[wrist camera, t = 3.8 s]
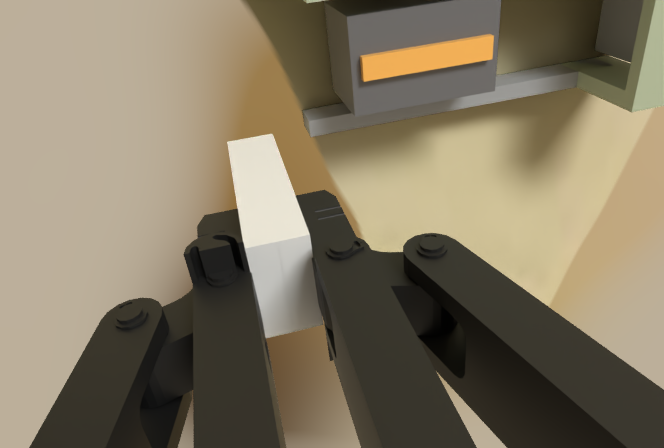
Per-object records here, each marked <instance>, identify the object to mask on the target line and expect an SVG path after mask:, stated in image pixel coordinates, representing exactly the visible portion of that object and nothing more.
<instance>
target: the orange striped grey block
mask: <svg viewBox="0 0 664 448" xmlns="http://www.w3.org/2000/svg"><path fill="white" fill-rule="evenodd" d="M324 6H325V16H326V26H327V36H328V46H329V55H330V65H331V75H332V85H333V90H334V92H335V93H336V94H337V95H338V97H339V98H340V99H341V100H342V101H343V103H344V104H345V105H346V106H347V108H348V109H349V110H350V111H351V112H352V114H353V115H354V116H355V117H357V116H362V115H368V114H373V113H379V112H384V111H389V110H395V109H400V108H406V107H411V106H417V105H422V104H427V103H433V102H438V101H444V100H449V99H454V98H460V97H465V96H471V95H476V94H482V93H487V92H492V91H495V85H496V70H497V55H498V40H499V26H500V11H501V0H333V1H326V2H324Z"/></svg>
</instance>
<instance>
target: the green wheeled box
mask: <svg viewBox="0 0 664 448" xmlns="http://www.w3.org/2000/svg"><path fill="white" fill-rule="evenodd" d="M303 1H304V2H306V3H312V2H319V1H325V0H303ZM595 51H598V52H601V53H604V54H607V55H610V56H613V57H616V58H619V59H622V60H625V61H628V62H631V64H630V63H627V62H624V61H621V60H619V59H616V58H613V57H610V56H601V57H596V58H590V59H584V60H579V61H573V62H568V63H562V64H557V65H551V66H546V67H540V68H534V69H529V70H523V71H518V72H512V73H507V74H501V75H496V85H495V91H492V92H487V93H482V94H476V95H471V96H465V97H460V98H454V99H449V100H444V101H438V102H433V103H427V104H422V105H417V106H411V107H406V108H400V109H395V110H389V111H384V112H379V113H373V114H368V115H362V116H357V117H355V116H354V115H353V114H352V112H351V111H350V110H349V109H348V108H347V106H346V105H345V104H344V103H340V104H334V105H329V106H323V107H318V108H312V109H307V110H302V111H303V118H304V125H305V127H306V129H307V131H308V133H309V135H310V137H314V136H319V135H325V134H330V133H335V132H341V131H346V130H351V129H357V128H362V127H367V126H373V125H378V124H383V123H388V122H394V121H399V120H404V119H410V118H415V117H420V116H426V115H431V114H436V113H442V112H447V111H452V110H458V109H463V108H468V107H474V106H479V105H484V104H490V103H495V102H500V101H506V100H511V99H516V98H521V97H527V96H532V95H537V94H543V93H548V92H553V91H559V90H564V89H569V88H575V87H577V88H579V89H581V90H584V91H586V92H588V93H590V94H592V95H595V96H597V97H599V98H601V99H603V100H606V101H608V102H610V103H612V104H615V105H617V106H619V107H621V108H623V109H626V110H628V111H630V112H636V111H641V110H646V109H651V108H656V107H661V106H664V0H603V3H602V9H601V15H600V21H599V28H598V34H597V40H596V46H595Z"/></svg>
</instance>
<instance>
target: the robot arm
mask: <svg viewBox="0 0 664 448" xmlns="http://www.w3.org/2000/svg"><path fill="white" fill-rule="evenodd" d="M227 143H228V149H229V155H230V162H231V169H232V175H233V181H234V188H235V194H236V200H237V207H238V209H234V210H229V211H224V212H219V213H214V214H209V215H205V216H204V217H203V219H202V220H201V221H200V223H199V224H198V227H197V231H198V239H196V240H194V241H193V242H192V243H191V244H190V245H189V246H187V247H186V249H185V252H184V257H185V260H186V264H187V267H188V270H189V273H190V277H191V280H192V283H193V289H192V290H191V291H190V292H189V293H188V294H187V295H185V296H184V297H182V298H181V299H178V300H177V301H175V302H173V303H170V304H168V305H166V306H164V307H162V306H161V305H160V303H159V302H158V301H156V300H154V299H151V298H138V299H133V300H129V301H126V302H123V303H122V304H119V305H117V306H116V307H114V308H113V309H111V310H110V311H109V312H107V314H106V315H105V316H104V317H103V319H102V320H101V321H100V323H99V325H98V327H97V328H96V330H95V332H94V334H93V336H92V337H91V339H90V341H89V343H88V344H87V346H86V348H85V350H84V352H83V353H82V355H81V357H80V359H79V360H78V362H77V364H76V366H75V368H74V369H73V371H72V373H71V375H70V376H69V379H68V380H67V382H66V383H65V385H64V387H63V389H62V391H61V392H60V394H59V396H58V398H57V400H56V401H55V403H54V405H53V407H52V408H51V410H50V412H49V414H48V415H47V418H46V419H45V421H44V423H43V424H42V426H41V428H40V430H39V431H38V433H37V435H36V437H35V439H34V441H33V442H32V444H31V446H30V447H29V448H177V447H178V444H179V441H180V437H181V434H182V430H183V427H184V424H185V420H186V417H187V413H188V410H189V407H190V403H191V399H192V390H194V391H193V393H194V394H193V397H194V398H193V399H194V448H286V444H285V438H284V433H283V427H282V422H281V416H280V410H279V405H278V400H277V394H276V388H275V383H274V377H273V372H272V366H271V361H270V355H269V350H268V346H267V342H266V338H269V337H273V336H277V335H281V334H286V333H290V332H294V331H299V330H303V329H307V328H311V327H315V326H319V325H323V320H324V322H325V330H326V336H327V343H328V350H329V357H330V361H332V360H334V363H335V366H336V369H337V372H338V376H339V379H340V382H341V385H342V388H343V391H344V395H345V397H346V401H347V404H348V407H349V410H350V414H351V417H352V420H353V423H354V426H355V429H356V433H357V436H358V439H359V442H360V445H361V448H477V447H476V445H475V444H474V442H473V440H472V438H471V436H470V434H469V432H468V430H467V429H466V427H465V425H464V423H463V421H462V419H461V417H460V415H459V414H458V412H457V410H456V408H455V406H454V404H453V402H452V401H451V399H450V397H449V395H448V393H447V391H446V389H445V387H444V385H443V384H442V382H441V380H440V378H439V376H438V374H437V372H438V373H439V374H440V376H441V377H442V378H443V379H444V380H445V381H446V382H447V383H448V384H449V385H450V386H451V387H452V389H454V391H455V392H456V393H457V394H458V395H459V396H460V397H461V398H462V399H463V400H464V401H465V403H466V404H467V405H468V406H469V407H470V408H471V409H472V410H473V411H474V412H475V413H476V414H477V415H478V417H479V418H480V419H481V420H482V421H483V422H484V423H485V424H486V425H487V426H488V427H489V428H490V430H491V431H492V432H493V433H494V434H495V435H496V436H497V437H498V438H499V439H500V440H501V441H502V443H504V444H505V446H506V447H507V448H664V390H663V389H662V388H660V387H659V386H658V385H656V384H655V383H653V382H652V381H651V380H649V379H648V378H647V377H645V376H644V375H642V374H641V373H640V372H638V371H637V370H635V369H634V368H633V367H631V366H630V365H628V364H627V363H626V362H624V361H623V360H622V359H620V358H619V357H617V356H616V355H615V354H613V353H612V352H610V351H609V350H607V349H606V348H605V347H603V346H602V345H601V344H599V343H598V342H597V341H595V340H594V339H592V338H591V337H590V336H588V335H587V334H585V333H584V332H583V331H581V330H580V329H578V328H577V327H576V326H574V325H573V324H571V323H570V322H569V321H567V320H566V319H565V318H563V317H562V316H560V315H559V314H558V313H556V312H555V311H553V310H552V309H551V308H549V307H548V306H546V305H545V304H544V303H542V302H541V301H540V300H538V299H537V298H535V297H534V296H533V295H531V294H530V293H528V292H527V291H526V290H524V289H523V288H521V287H520V286H519V285H517V284H516V283H515V282H513V281H512V280H510V279H509V278H508V277H506V276H505V275H503V274H502V273H501V272H499V271H498V270H496V269H495V268H494V267H492V266H491V265H490V264H488V263H487V262H485V261H484V260H483V259H481V258H480V257H478V256H477V255H476V254H474V253H473V252H471V251H470V250H469V249H467V248H466V247H464V246H463V245H462V244H460V243H459V242H458V241H456V240H455V239H453V238H451V237H449V236H447V235H442V234H437V233H428V234H421V235H417V236H414V237H413V238H411V239H409V240H408V241H407V242H406V243H405V245H404V246H403V252H379V251H374V250H371V249H370V247H369V245H368V244H367V243H366V242H365V241H364V240H362V239H360V238H358V237H356V235H355V233H354V231H353V229H352V227H351V225H350V224H349V221H348V219H347V218H346V216H345V214H344V212H343V210H342V208H341V207H340V204H339V202H338V200H337V198H336V196H334V195H332V194H331V193H329V192H327V191H325V190H322V191H317V192H312V193H307V194H302V195H297V196H295V193H294V191H293V188H292V185H291V183H290V180H289V177H288V175H287V172H286V169H285V167H284V164H283V161H282V159H281V156H280V153H279V150H278V148H277V145H276V142H275V140H274V137H273V134H268V135H263V136H257V137H252V138H246V139H241V140H236V141H230V142H227ZM322 317H323V320H322ZM435 370H436V371H437V372H436V371H435Z"/></svg>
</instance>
